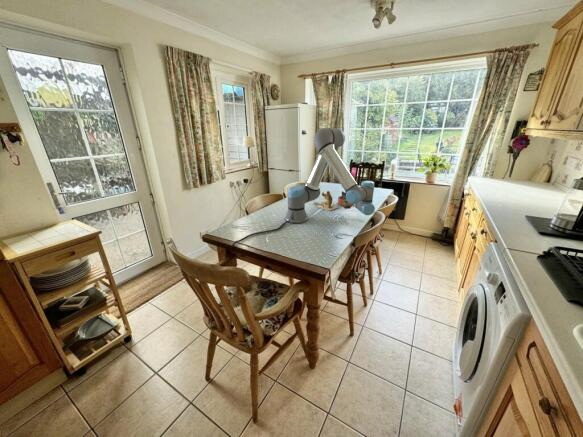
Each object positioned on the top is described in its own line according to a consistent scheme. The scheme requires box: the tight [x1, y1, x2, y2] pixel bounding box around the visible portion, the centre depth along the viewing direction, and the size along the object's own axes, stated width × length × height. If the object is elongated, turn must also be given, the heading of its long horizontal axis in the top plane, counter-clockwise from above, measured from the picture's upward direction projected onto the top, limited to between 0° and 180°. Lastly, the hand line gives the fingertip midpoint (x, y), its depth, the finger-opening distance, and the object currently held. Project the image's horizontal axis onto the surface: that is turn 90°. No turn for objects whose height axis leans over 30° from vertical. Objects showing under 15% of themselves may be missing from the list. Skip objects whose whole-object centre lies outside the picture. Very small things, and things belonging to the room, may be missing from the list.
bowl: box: [337, 195, 343, 206], centre depth 196 cm, size 13×13×6 cm
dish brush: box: [341, 192, 352, 210], centre depth 167 cm, size 6×4×16 cm
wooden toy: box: [313, 190, 339, 212], centre depth 190 cm, size 22×10×14 cm, turn 37°
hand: (344, 192), depth 172 cm, fingers closed on dish brush, 3 cm apart
